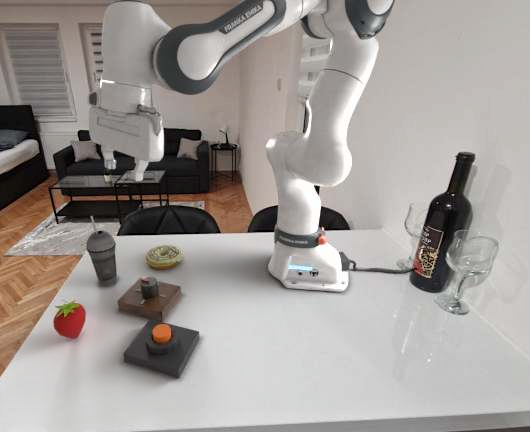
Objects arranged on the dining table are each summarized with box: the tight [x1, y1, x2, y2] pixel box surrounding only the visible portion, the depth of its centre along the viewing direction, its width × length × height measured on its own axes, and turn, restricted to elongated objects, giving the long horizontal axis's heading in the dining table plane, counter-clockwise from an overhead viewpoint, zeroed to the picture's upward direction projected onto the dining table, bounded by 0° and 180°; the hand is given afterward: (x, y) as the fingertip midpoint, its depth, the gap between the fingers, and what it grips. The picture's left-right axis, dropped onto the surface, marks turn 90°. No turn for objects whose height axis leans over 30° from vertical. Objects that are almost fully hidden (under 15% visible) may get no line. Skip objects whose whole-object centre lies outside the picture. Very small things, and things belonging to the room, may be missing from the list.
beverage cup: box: [85, 215, 118, 288], centre depth 80 cm, size 7×7×20 cm
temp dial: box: [140, 276, 158, 298], centre depth 74 cm, size 4×4×4 cm
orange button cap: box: [152, 324, 171, 344], centre depth 61 cm, size 4×4×2 cm
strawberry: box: [52, 299, 87, 340], centre depth 64 cm, size 6×8×10 cm
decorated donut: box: [145, 244, 183, 270], centre depth 93 cm, size 10×11×4 cm
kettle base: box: [123, 319, 201, 379], centre depth 62 cm, size 12×10×4 cm
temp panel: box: [117, 277, 182, 322], centre depth 75 cm, size 12×10×3 cm
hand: (122, 174), depth 61 cm, fingers open, 8 cm apart
